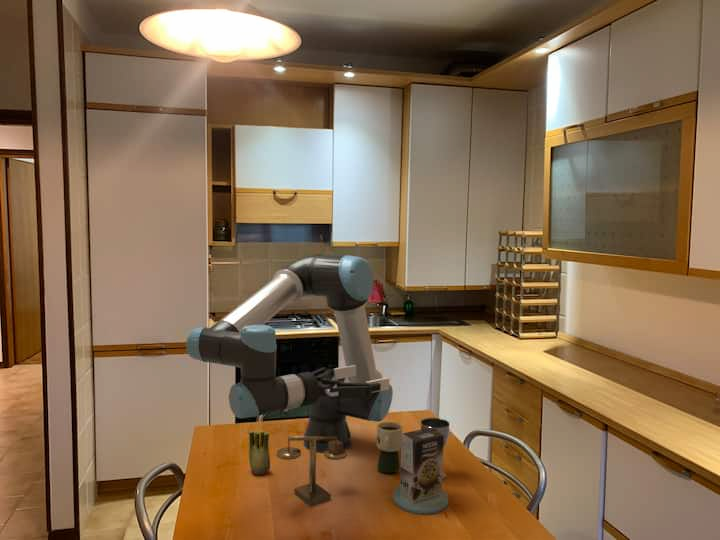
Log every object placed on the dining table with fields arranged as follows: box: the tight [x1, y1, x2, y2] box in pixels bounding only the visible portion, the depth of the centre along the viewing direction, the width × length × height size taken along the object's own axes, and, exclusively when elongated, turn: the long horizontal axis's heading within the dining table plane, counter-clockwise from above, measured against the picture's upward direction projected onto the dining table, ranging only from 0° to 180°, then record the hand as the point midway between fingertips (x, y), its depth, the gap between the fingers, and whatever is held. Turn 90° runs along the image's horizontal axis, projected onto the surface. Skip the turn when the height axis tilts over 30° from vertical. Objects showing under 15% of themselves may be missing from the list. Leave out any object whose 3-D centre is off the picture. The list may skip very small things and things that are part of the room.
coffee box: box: [399, 428, 445, 504], centre depth 143 cm, size 9×6×16 cm
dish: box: [393, 486, 449, 516], centre depth 143 cm, size 14×14×1 cm
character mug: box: [376, 421, 403, 474], centre depth 160 cm, size 11×7×13 cm, turn 168°
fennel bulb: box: [248, 430, 271, 476], centre depth 157 cm, size 6×5×12 cm
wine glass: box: [420, 417, 450, 480], centre depth 158 cm, size 8×8×15 cm
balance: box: [276, 435, 348, 507], centre depth 143 cm, size 8×20×18 cm, turn 126°
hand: (371, 376), depth 141 cm, fingers open, 13 cm apart
